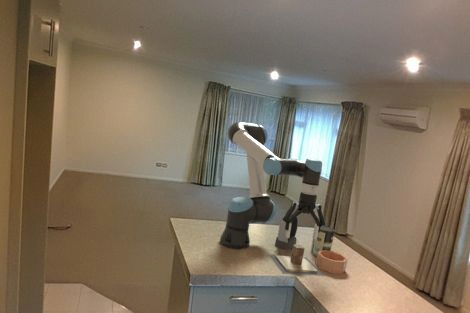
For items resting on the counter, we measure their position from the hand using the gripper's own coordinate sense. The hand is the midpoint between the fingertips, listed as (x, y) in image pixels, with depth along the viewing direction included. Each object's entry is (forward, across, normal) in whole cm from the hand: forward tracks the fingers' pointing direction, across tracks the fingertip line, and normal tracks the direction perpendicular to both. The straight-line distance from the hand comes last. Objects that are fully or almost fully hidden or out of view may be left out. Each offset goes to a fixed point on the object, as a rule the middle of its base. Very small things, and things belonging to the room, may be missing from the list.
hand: (301, 238), depth 170 cm
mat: (+14, 0, 0) cm, 14 cm away
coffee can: (+14, +21, +18) cm, 30 cm away
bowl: (+14, +18, 0) cm, 22 cm away
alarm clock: (+13, +5, +26) cm, 30 cm away
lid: (+13, 0, 0) cm, 13 cm away
